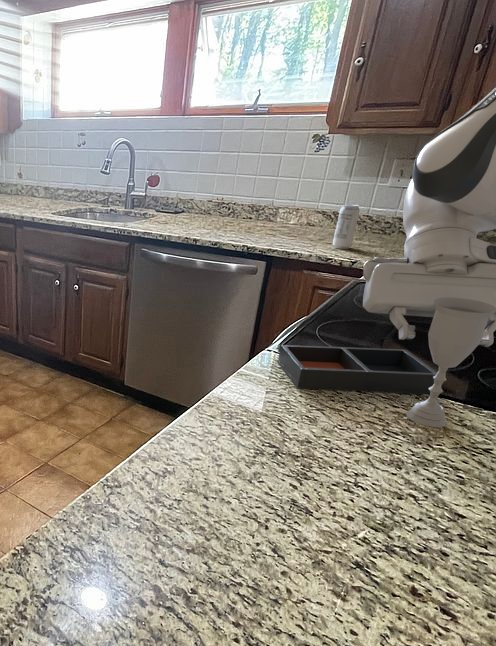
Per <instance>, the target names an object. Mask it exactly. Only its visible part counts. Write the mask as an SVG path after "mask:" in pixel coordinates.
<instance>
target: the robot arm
mask: <svg viewBox="0 0 496 646" xmlns="http://www.w3.org/2000/svg"><path fill="white" fill-rule="evenodd" d="M404 194H405V195H404V198H403V207H402V223H403V224H402V225H403V227H402V228H403V230H404V232H405V235H406V239H405V241H404V245H403V250H404V251H403V252H404V253H403V254H404V257H384V256H376V257H375V256H374V257H373V259H369V260H367V261H366V262H364V264H363V265H362V276H363V279H364V280H365V285H364V288H363V294H362V295H363V296H362V308H364V310H366V312H368V313H370V314H371V313H372V314H385V315H389V320H390V322H391V323H392V324H393V325H394V326H395V328H396V330H397V331H398V339H399V340H403V341H404V340H405V341H413V339H414V338H415V337H416V325H413V324H409V323H408V321H407V320H406V318H405V317H404V316H409V317H410V316H411V317H422V318H423V317H425V318H433V317H434V314H435V311H436V307H435V303H434V301H435V299H438V298H464V299H471V300H476V301H481V302H484V303H488V304H490V305H493V306H495V307H496V244H494V243H491V242H488V241H486V240H483V239H480V238H477V235H478V233H486V232H491V231H495V230H496V86H495V87H494V88H493V89H492V90H491V91H490V92H489V93H488V94H486V95H485V96H484V97H483V98H482V99H480V101H478V102H477V103H476V104H475V105H474V106H473V107H472V108H471V109H469V110H468V111H467V112H466V113H465V114H463V115H462V116H461V117H460V118H458V119H457V120H455V121H454V122H453V123H451V124H449V125H448V126H447V127H445V128H443V129H442V130H441V131H440V132H438V133H437V134H435V135H434V136H433V137H432V138H431V139H430V140H428V141H427V142H426V143H425V144H424V145H423V146H422V148H421V149H420V150H419V151H418V153H417V155H416V157H415V159H414V163H413V167H412V179H411V180H410V182H409V183H408V186H407V188H406V191H405V193H404ZM495 331H496V312H494V313H493V314H492V315H491V316H490V317H489V319H488V322H487V324H486V327H485V330H484V333H483V335H482V338H481V341H480V343H479V345H478V346H477V347H483V348H489V347H491V346H492V345H493V344H494V341H495V339H494V332H495Z"/></svg>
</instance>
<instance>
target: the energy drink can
mask: <svg viewBox="0 0 496 646" xmlns="http://www.w3.org/2000/svg"><path fill="white" fill-rule="evenodd" d="M359 207H360V205H359V204H354V203H353V204H351V203H350V204H349V203H348V204H347V203H346V204H342V207H341V208H340V209H339V213H338V217H337V222H336V226H335V231H334V236H333V240H332V246H333V248H335V249H339V250H349V249H350V247H352V246H353V243H354V242H353V241H354V236H355V233H356V228H357V225H358V220H359V215H360V213H361V210H360V208H359Z"/></svg>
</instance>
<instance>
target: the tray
mask: <svg viewBox="0 0 496 646" xmlns="http://www.w3.org/2000/svg"><path fill="white" fill-rule="evenodd" d="M277 364H278V365H279V366H280V368H281V369H282V370H283V372H284V374H286V375H287V377H288V378H289V380H290V381H291V382H292V384H293V385H294V386H295V388H297V389H303V390H305V389H306V390H324V391H344V392H345V391H347V392H367V393H387V394H388V393H389V394H407V395H408V394H409V395H428V396H430V390H429V388H430V387H432V386H433V385H434V378H433V377H434V376H435V375H436V374H437V372H438V371H437V370H435V369H434V368H433V367H431V366H429V364H427V363H425V362H424V361H423V360H421V359H420V358H418V357H417V356H416V355H414V354H413V353H412V352H410V351H409V350H407V349H404V348H381V347H378V348H377V347H375V348H374V347H353V346H351V347H350V346H348V347H347V346H323V345H322V346H319V345H296V344H295V345H294V344H281V345H280V348H279V354H278V357H277Z"/></svg>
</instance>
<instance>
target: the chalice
mask: <svg viewBox="0 0 496 646" xmlns="http://www.w3.org/2000/svg"><path fill="white" fill-rule="evenodd" d="M434 303H435V307H436V311H435V314H434V317H432V320H431V323H430V327H429V330H428V333H427V336H428V347H429V351H430V355H431V358H432V362H433V364H435V365H436V366H438V371H437V374H436V375H435V376H434V377H433V378H434V385H433V386H432V387H430V388H429V390H430V395H429V397H428V398H427V399H425V400H419V401H418V402H416V403H414V405H413V406H412V407H410V409H409V410H408V411H406V413H405V416H406V417H407V418H408V419H409V420H411V421H412V422H414V423H416V424H419V425H422V426H426V427H430V428H442V427H443V428H444V427H446V426H447V425H448V422H447V419H446V418H447V415H446V411H445V409H444V407H443V405H441V404H439V402H438V397H439V396H440V394H443V392H444V390H443V389H442V385H443V384H444V382H446V381H447V378H446V373H447V371H448V369H451V368H456V367H457V366H458V365H460V364H461V363H462V362H463V361H464V360H465V359H467V357H469V356H470V355H471V354H472V353H473V352H474V351H475V350H476V348H477V347H479V346H478V345H479V343H480V341H481V338H482V335H483V333H484V331H485V329H486V328H487V326H486V324H487V322H488V319H489V317H490V316H491V315H492V314H493V313H494V312H496V307H495V306H493V305H490V304H488V303H484V302H481V301H476V300H471V299H464V298H438V299H435V301H434Z"/></svg>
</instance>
